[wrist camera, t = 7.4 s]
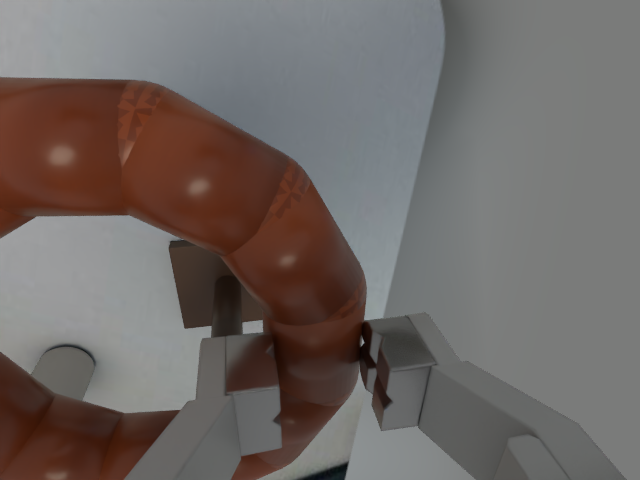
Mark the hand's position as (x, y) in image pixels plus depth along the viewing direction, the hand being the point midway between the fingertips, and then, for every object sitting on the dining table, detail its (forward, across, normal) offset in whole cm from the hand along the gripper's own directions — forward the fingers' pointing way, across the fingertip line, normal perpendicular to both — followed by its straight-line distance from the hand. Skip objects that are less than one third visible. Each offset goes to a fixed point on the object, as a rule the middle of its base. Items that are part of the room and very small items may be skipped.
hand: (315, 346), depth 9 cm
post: (+26, +3, +15) cm, 30 cm away
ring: (+1, +4, 0) cm, 4 cm away
